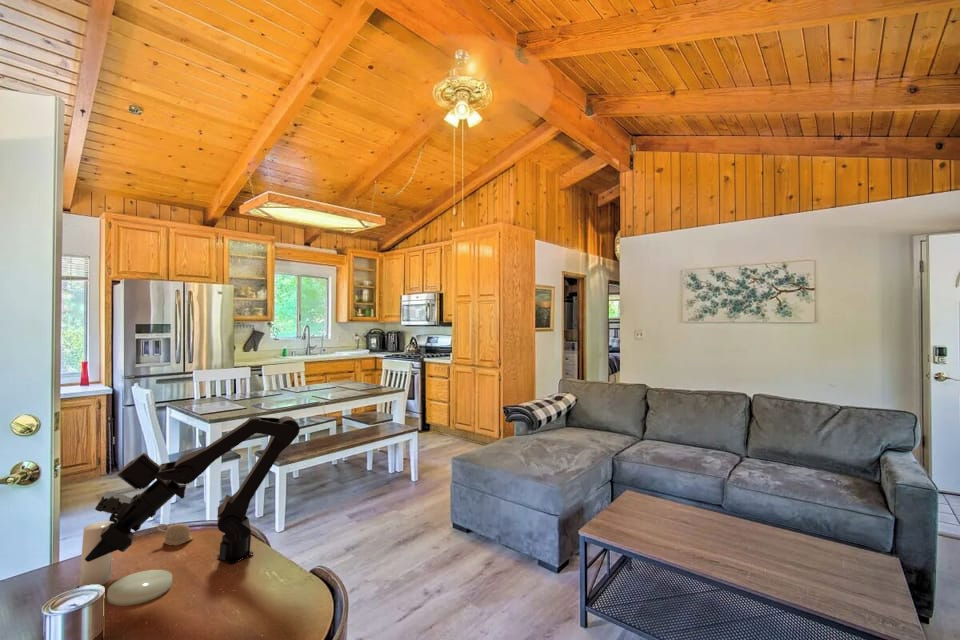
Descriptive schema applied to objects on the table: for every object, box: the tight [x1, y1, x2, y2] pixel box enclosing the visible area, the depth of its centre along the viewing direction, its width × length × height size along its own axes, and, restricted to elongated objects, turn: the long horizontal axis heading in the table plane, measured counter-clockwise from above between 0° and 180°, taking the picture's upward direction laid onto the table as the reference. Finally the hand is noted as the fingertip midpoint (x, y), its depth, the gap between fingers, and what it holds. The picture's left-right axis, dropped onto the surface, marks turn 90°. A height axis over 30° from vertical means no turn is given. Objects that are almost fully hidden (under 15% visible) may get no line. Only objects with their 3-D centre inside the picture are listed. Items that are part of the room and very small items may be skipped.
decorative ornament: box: [156, 523, 193, 546], centre depth 126 cm, size 4×8×5 cm, turn 102°
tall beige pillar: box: [78, 520, 114, 588], centre depth 106 cm, size 6×6×13 cm
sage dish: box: [106, 569, 173, 607], centre depth 103 cm, size 12×12×2 cm
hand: (89, 554), depth 105 cm, fingers closed on tall beige pillar, 6 cm apart
